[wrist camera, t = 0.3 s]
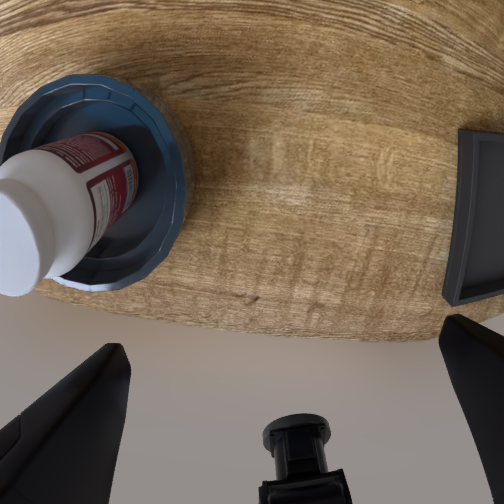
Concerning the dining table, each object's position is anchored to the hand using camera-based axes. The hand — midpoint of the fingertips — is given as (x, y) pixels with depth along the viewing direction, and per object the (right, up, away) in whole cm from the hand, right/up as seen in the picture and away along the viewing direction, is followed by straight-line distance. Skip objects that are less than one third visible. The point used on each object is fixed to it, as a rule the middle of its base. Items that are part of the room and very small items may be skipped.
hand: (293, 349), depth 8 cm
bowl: (-11, +8, +12) cm, 18 cm away
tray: (+23, +6, +14) cm, 28 cm away
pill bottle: (-11, +8, +12) cm, 18 cm away
